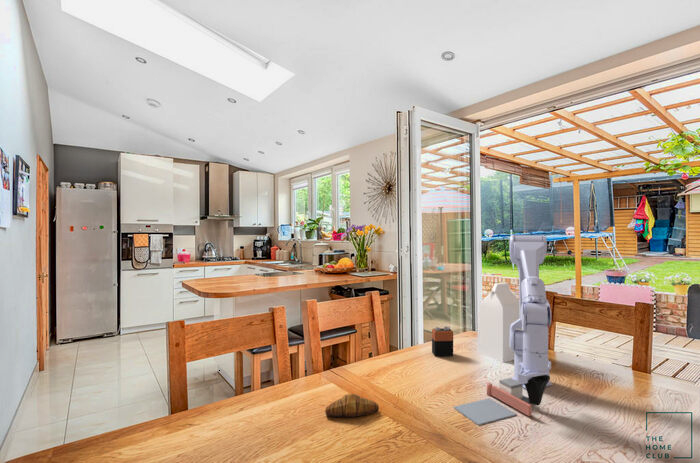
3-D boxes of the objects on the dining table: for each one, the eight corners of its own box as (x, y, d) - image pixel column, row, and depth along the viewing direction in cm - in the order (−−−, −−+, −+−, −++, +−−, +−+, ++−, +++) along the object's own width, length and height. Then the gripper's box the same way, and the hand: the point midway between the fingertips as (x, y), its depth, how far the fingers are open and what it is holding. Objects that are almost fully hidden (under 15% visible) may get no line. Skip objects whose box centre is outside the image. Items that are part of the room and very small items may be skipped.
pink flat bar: (489, 393, 101) (489, 382, 101) (532, 417, 89) (532, 405, 88) (485, 394, 101) (485, 383, 101) (527, 418, 88) (528, 406, 88)
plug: (510, 395, 100) (510, 377, 100) (522, 402, 96) (522, 383, 96) (499, 398, 98) (499, 380, 98) (511, 405, 95) (511, 386, 95)
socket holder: (510, 392, 102) (510, 388, 102) (531, 403, 96) (531, 399, 95) (493, 395, 100) (493, 392, 100) (514, 407, 93) (514, 404, 93)
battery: (453, 356, 131) (453, 328, 130) (435, 357, 130) (435, 329, 130) (449, 352, 135) (449, 325, 135) (431, 352, 134) (431, 325, 134)
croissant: (375, 405, 95) (375, 386, 95) (382, 418, 88) (382, 398, 88) (323, 409, 92) (323, 389, 92) (326, 423, 86) (326, 402, 86)
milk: (502, 362, 125) (503, 286, 125) (476, 352, 135) (477, 282, 135) (525, 356, 131) (526, 284, 130) (499, 347, 141) (499, 280, 141)
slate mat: (489, 399, 98) (489, 398, 98) (516, 415, 89) (516, 414, 89) (453, 407, 93) (453, 406, 93) (478, 425, 85) (478, 424, 85)
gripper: (531, 340, 100) (531, 389, 100) (505, 352, 90) (505, 406, 91) (559, 347, 94) (559, 399, 94) (535, 359, 85) (534, 417, 85)
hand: (535, 403), depth 92 cm, fingers closed
